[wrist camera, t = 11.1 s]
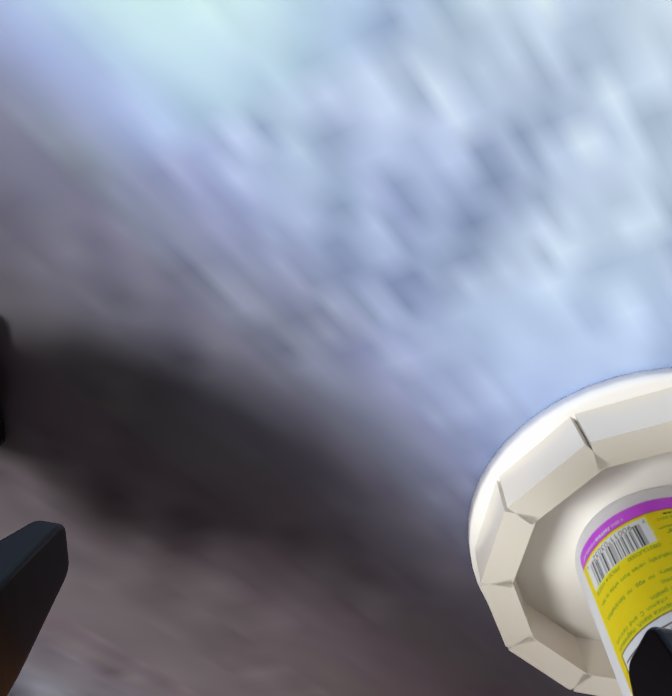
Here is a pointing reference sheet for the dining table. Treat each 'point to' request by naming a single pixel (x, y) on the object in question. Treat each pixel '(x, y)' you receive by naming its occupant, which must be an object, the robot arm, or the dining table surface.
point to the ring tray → (564, 517)
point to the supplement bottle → (628, 573)
